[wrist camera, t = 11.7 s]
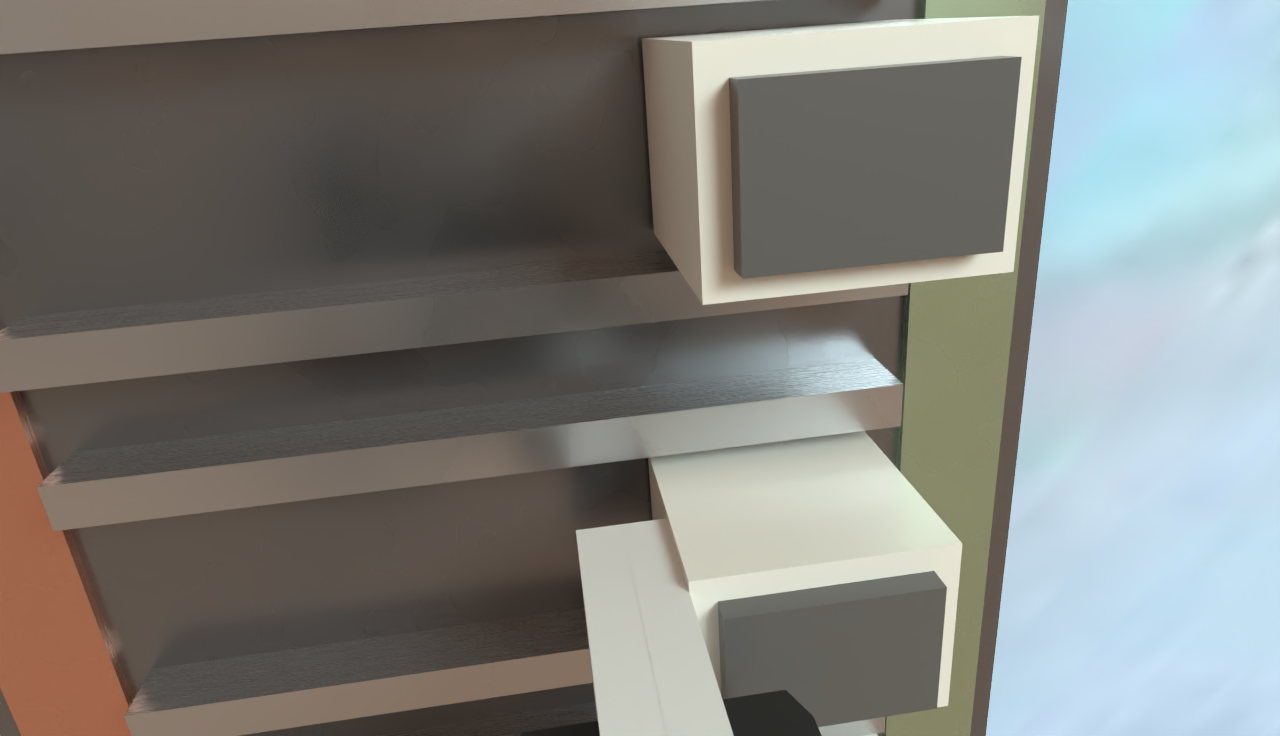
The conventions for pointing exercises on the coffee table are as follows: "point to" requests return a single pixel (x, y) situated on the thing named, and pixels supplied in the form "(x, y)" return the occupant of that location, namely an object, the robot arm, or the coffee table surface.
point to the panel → (412, 359)
